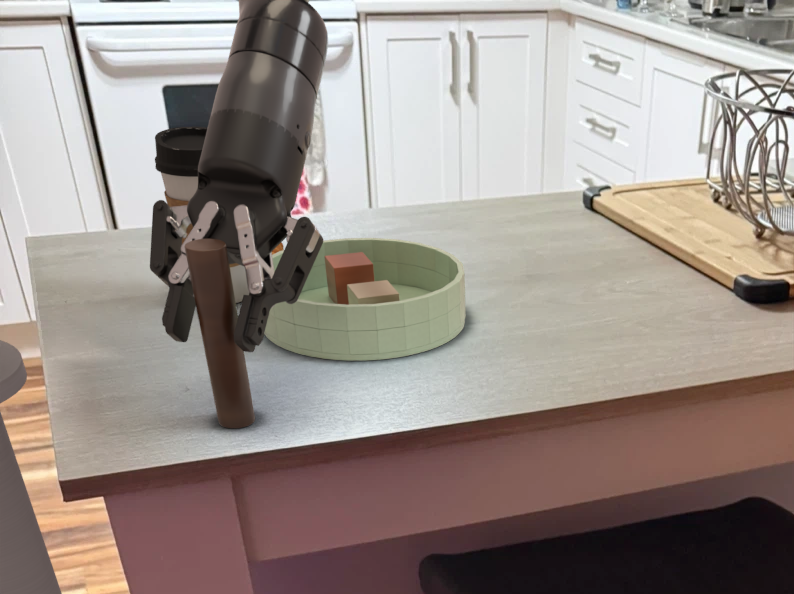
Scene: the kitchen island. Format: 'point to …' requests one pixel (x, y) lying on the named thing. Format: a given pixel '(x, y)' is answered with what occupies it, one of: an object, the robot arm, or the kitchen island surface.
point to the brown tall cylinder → (220, 331)
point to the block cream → (372, 293)
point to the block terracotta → (346, 274)
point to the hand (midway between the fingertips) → (209, 341)
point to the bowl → (375, 305)
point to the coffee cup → (188, 180)
